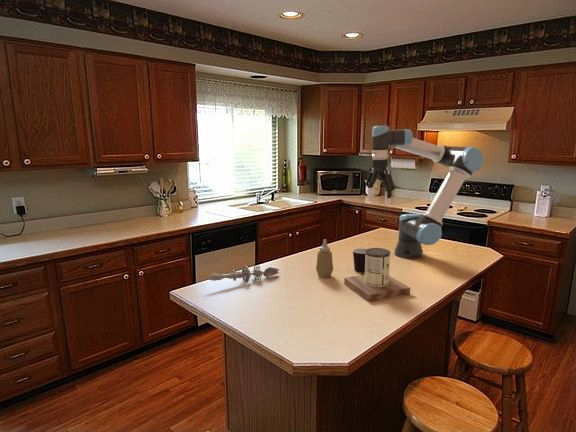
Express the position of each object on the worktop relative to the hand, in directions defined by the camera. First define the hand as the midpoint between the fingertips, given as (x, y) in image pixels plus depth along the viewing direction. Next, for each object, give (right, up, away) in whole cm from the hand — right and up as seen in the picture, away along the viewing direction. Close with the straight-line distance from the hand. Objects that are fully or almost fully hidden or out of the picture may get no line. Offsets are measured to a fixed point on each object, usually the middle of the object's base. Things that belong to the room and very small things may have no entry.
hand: (379, 202), depth 185 cm
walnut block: (-7, -38, -22) cm, 45 cm away
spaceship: (-64, -37, -13) cm, 75 cm away
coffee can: (-7, -35, -23) cm, 43 cm away
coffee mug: (-10, -34, 0) cm, 35 cm away
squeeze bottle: (-27, -35, -6) cm, 45 cm away
